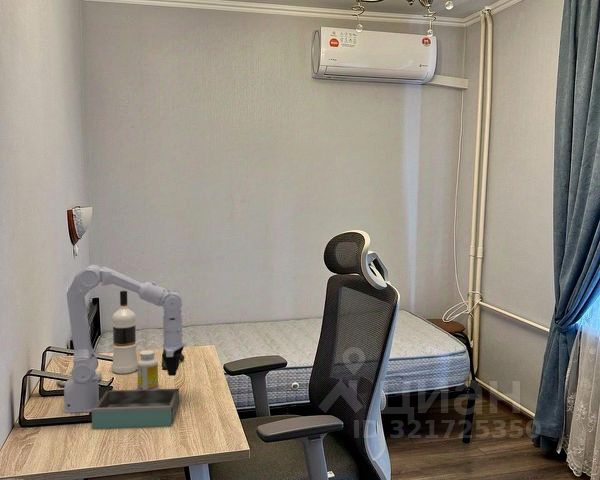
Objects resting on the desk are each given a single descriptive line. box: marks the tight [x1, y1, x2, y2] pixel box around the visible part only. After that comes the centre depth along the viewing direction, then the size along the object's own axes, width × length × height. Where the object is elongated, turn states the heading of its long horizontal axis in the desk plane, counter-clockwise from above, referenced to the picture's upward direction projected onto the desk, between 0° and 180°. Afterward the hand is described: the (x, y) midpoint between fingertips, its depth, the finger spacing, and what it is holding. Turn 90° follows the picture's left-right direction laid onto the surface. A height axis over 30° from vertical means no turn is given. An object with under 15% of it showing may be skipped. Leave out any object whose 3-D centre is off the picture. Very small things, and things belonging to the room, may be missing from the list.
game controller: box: [57, 370, 103, 387], centre depth 185 cm, size 14×4×10 cm
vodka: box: [111, 290, 138, 375], centre depth 197 cm, size 9×9×30 cm
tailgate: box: [91, 406, 172, 430], centre depth 150 cm, size 22×1×6 cm, turn 95°
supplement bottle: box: [136, 349, 159, 390], centre depth 179 cm, size 7×7×13 cm
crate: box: [95, 388, 180, 425], centre depth 159 cm, size 22×15×5 cm
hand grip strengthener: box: [161, 334, 185, 371], centre depth 204 cm, size 2×12×15 cm, turn 158°
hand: (173, 372), depth 169 cm, fingers open, 5 cm apart
